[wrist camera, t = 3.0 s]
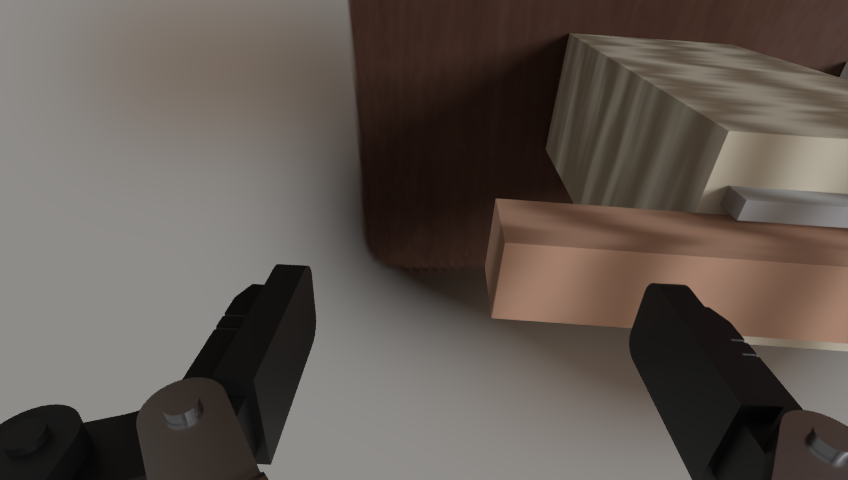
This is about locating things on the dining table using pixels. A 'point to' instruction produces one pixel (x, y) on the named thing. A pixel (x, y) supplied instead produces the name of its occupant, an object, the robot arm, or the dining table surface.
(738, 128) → the chevron patterned box
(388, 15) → the dining table surface
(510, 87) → the dining table surface
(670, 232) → the block
